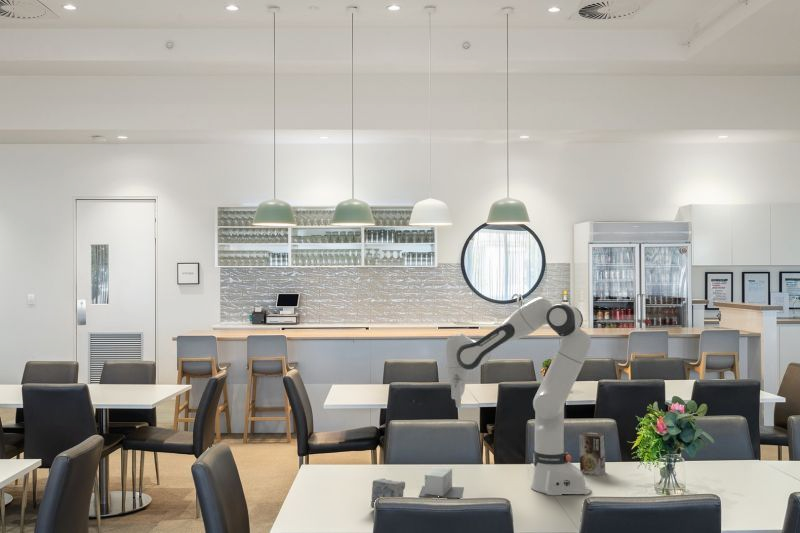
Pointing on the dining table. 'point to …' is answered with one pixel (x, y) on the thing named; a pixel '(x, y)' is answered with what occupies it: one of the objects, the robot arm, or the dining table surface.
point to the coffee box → (592, 453)
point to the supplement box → (438, 481)
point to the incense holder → (386, 489)
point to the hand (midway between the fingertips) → (458, 406)
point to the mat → (451, 493)
